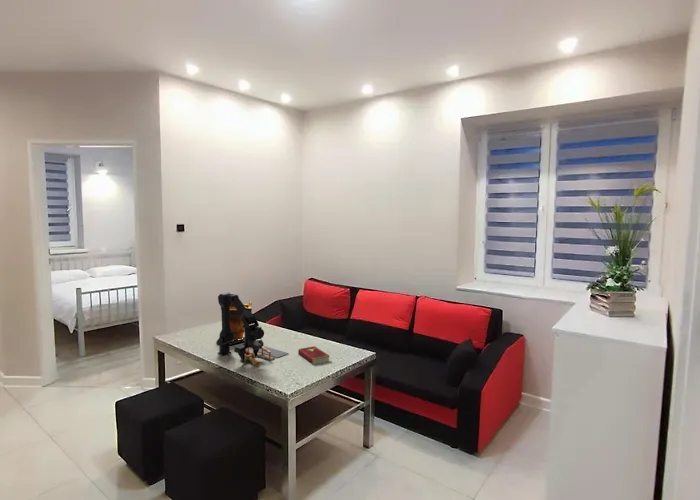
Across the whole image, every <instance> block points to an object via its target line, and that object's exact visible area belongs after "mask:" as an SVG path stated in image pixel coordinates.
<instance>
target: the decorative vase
mask: <svg viewBox="0 0 700 500" xmlns="http://www.w3.org/2000/svg"><path fill="white" fill-rule="evenodd" d="M243 305H244V306H245V308H246V309H247V310H248V311H249V312H251V313H252V311H253V307H252V301H249V303H243ZM229 309H230V329H231V331H233V332H234V334H233V335H234V338H233V341H232V342H235V341H234V340H238V339H242V338H243V337H244V328H243V327H242V326H243V325H244V324H243V322H242V320H241V315H240V314H239V312H238V311H237V309H236V308H235V306H234V305H233V304H232V303H231V305H230V307H229Z"/></svg>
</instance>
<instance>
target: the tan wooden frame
mask: <svg viewBox="0 0 700 500" xmlns="http://www.w3.org/2000/svg"><path fill="white" fill-rule="evenodd" d="M260 349H262V353H259V352H258V353H257V356H256V358H260V359H263V360H267V361H273V360H275V357H272V356H271V351H269V350H268V349H266V348H264V346H262V348H260ZM263 350H264V351H265V352H267V353H269V356H268V355H265V354H263ZM247 351H248V352H249V353H253V350H250V348H248V349H247Z"/></svg>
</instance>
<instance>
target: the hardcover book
mask: <svg viewBox="0 0 700 500" xmlns="http://www.w3.org/2000/svg"><path fill="white" fill-rule="evenodd" d="M297 350H298V351H297V352H298V353H297V354H298V355H299V356H301V357H302V358H303V359H305V360H306V361H307V362H309V363H310V364H311V365H315V364H316V363H317V364H322V363H326V362H325V361H327V362H329V361H330V354H328V353H326V352H325V351H323V350H322V349H320V348H318V347H317V346H314V345H313V346H307V347H303V348H298V349H297ZM321 362H322V363H321Z"/></svg>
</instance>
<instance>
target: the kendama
mask: <svg viewBox="0 0 700 500" xmlns="http://www.w3.org/2000/svg"><path fill="white" fill-rule="evenodd" d="M245 352H246V353H245V359H244V362H247V361H248V360H249V361H250V362H251V363H252V364H254V366H255V367H259V366H260V364H261V363H260V361H259V360H257V359H256V358H255V354H254V353H249V352H248V349H246V351H245Z"/></svg>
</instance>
